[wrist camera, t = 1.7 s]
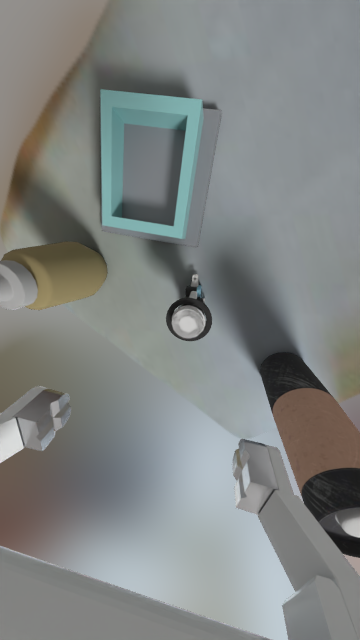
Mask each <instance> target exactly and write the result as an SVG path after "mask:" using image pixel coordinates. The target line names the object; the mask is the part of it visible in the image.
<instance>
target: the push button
mask: <svg viewBox="0 0 360 640" xmlns="http://www.w3.org/2000/svg"><path fill="white" fill-rule="evenodd" d="M194 277H195V278H196V279H194ZM204 303H205V297H204V299H203V298H201V285H199V282H198V274H193V276H192V283H191V285H190V286H187V287H186V297H185V298H183V299H180V300H177V301H176V302H174V303H173V304H172V305H171V307H170V308H169V310H168V312H167V316H166V322H167V326H168V328H169V330H170V331H171V333H172V334H173V335H174V336H176V337H177V338H179V339H182V340H185V341H195V340H199V339H201V338H203V337H204V336H205V335H206V334H207V333H208V332H209V330H210V328H211V325H212V316H211V313H210V310H209V309H208V307H207V306H206V305H205V304H204ZM180 305H181V306H180ZM178 306H179V307H178ZM177 307H178V309H177V310H175V309H176V308H177ZM174 310H175V312H174ZM204 313H205V315H206V319H207V320H206V322H205V315H204Z"/></svg>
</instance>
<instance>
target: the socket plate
mask: <svg viewBox="0 0 360 640" xmlns="http://www.w3.org/2000/svg"><path fill="white" fill-rule="evenodd" d="M100 90H101V97H100V137H101V209H102V231H105V232H110V233H116V234H122V235H128V236H133V237H139V238H145V239H151V240H157V241H162V242H168V243H174V244H180V245H185V246H191V247H198V243H199V237H200V232H201V226H202V221H203V215H204V210H205V204H206V199H207V193H208V187H209V182H210V176H211V171H212V165H213V160H214V154H215V149H216V143H217V137H218V132H219V126H220V121H221V112H222V110H214V109H205V108H203V104H202V100H200V99H191V98H181V97H171V96H161V95H151V94H142V93H132V92H122V91H112V90H103V89H100Z"/></svg>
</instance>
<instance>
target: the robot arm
mask: <svg viewBox="0 0 360 640" xmlns="http://www.w3.org/2000/svg"><path fill="white" fill-rule="evenodd" d="M69 399H70V398H69V394H66V393H62V392H59V391H55V390H52V389H48V388H45V387H41V386H36V387H34V388H32V389H31V390H30V391H29V392H27V393H26V394H25V395H24V396H22V397H21V398H20V399H19V400H18V401H16V402H15V403H14V404H12V405H11V406H10V407H9V408H7V409H6V410H5V411H4V412H3V413H0V463H1V462H2V461H4V460H6V459H7V458H9V457H10V456H12V455H14V454H15V453H17V452H18V451H20V450H21V449H23V448H24V447H27V448H31V449H35V450H39V451H43V450H44V449H45V448H46V447H47V445H48V444H49V443H50V442H51V440H52V439H53V438H54V437H55V431H56V430H58V429H60V428H62V427H63V426H64V424H65V423H66V422H67V420H68V418H69V416H70V412H71V406H70V405H69V404H68V401H69ZM233 475H234V477H235V479H236V480H237V482H236V485H235V487H234V490H235V501H236V508H239V509H242V510H245V511H248V512H251V513H254V514H257V515H258V517H259V520H260V522H261V523H262V526H263V528H264V530H265V532H266V534H267V536H268V538H269V540H270V542H271V543H272V546H273V547H274V549H275V552H276V553H277V555H278V557H279V559H280V562H281V564H282V565H283V567H284V570H285V572H286V574H287V576H288V578H289V580H290V582H291V584H292V586H293V588H294V590H295V593H294V594H293V595H291V596H290V597H289V598H288V599H286V600H285V602H284V604H283V605H282V607H283V612H284V618H285V623H286V629H287V634H288V639H289V640H360V576H359V575H358V573H357V572H356V571H355V569H354V568H353V567H352V566H351V564H350V563H349V562H348V560H347V559H346V558H345V556H344V555H343V554H342V553H341V551H340V550H339V549H338V547H337V546H336V545H335V543H334V542H333V541H332V540H331V538H330V537H329V536H328V534H327V533H326V532H325V530H324V529H323V528H322V527H321V525H320V524H319V523H318V521H317V520H316V519H315V517H314V516H313V515H312V514H311V512H310V511H309V510H308V508H307V507H306V506H305V504H304V503H303V502H302V501H301V499H300V498H299V497H298V496H296V495H294V493H293V490H292V487H291V484H290V481H289V478H288V475H287V472H286V469H285V466H284V463H283V460H282V457H281V454H280V451H279V449H278V448H276V447H272V446H268V445H264V444H262V443H258V442H254V441H249V440H245V439H241V440H240V441H239V449H237V450H236V451H235V453H234V457H233ZM0 640H271V639H268V638H266V637H263V636H260V635H257V634H254V633H251V632H249V631H246V630H243V629H240V628H237V627H234V626H231V625H228V624H225V623H222V622H220V621H217V620H214V619H211V618H208V617H205V616H202V615H199V614H196V613H193V612H191V611H188V610H185V609H182V608H179V607H176V606H173V605H170V604H167V603H165V602H161V601H159V600H156V599H153V598H150V597H147V596H144V595H141V594H138V593H135V592H133V591H130V590H127V589H124V588H121V587H118V586H115V585H112V584H109V583H107V582H104V581H101V580H98V579H95V578H92V577H89V576H86V575H83V574H80V573H78V572H74V571H72V570H69V569H66V568H63V567H60V566H57V565H54V564H52V563H49V562H45V561H43V560H40V559H37V558H34V557H31V556H28V555H25V554H23V553H19V552H17V551H13V550H11V549H8V548H5V547H2V546H0Z"/></svg>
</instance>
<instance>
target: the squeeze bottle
mask: <svg viewBox="0 0 360 640" xmlns="http://www.w3.org/2000/svg"><path fill="white" fill-rule="evenodd" d="M106 276H107V265H106V263H105V261H104V259H103V258H102V256H101V255H100V254H99V253H98V252H96V251H94V250H92V249H90V248H88V247H86V246H84V245H82V244H80V243H78V242H60V243H54V244H48V245H41V246H35V247H28V248H22V249H16V250H12V251H10V252H8V253H6V254H5V255H4V257H3V258H2V260H1V261H0V306H1V307H3V308H5V309H10V310H15V309H18V308H21V307H24V306H25V307H27V308H29V309H34V310H42V309H46V308H49V307H53V306H57V305H60V304H64V303H68V302H72V301H75V300H79V299H83V298H86V297H89V296H92V295H94V294H95V293H96V292H97V291H98V290H99V288H100V287H101V286H102V284H103V283H104V281H105V280H106Z"/></svg>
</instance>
